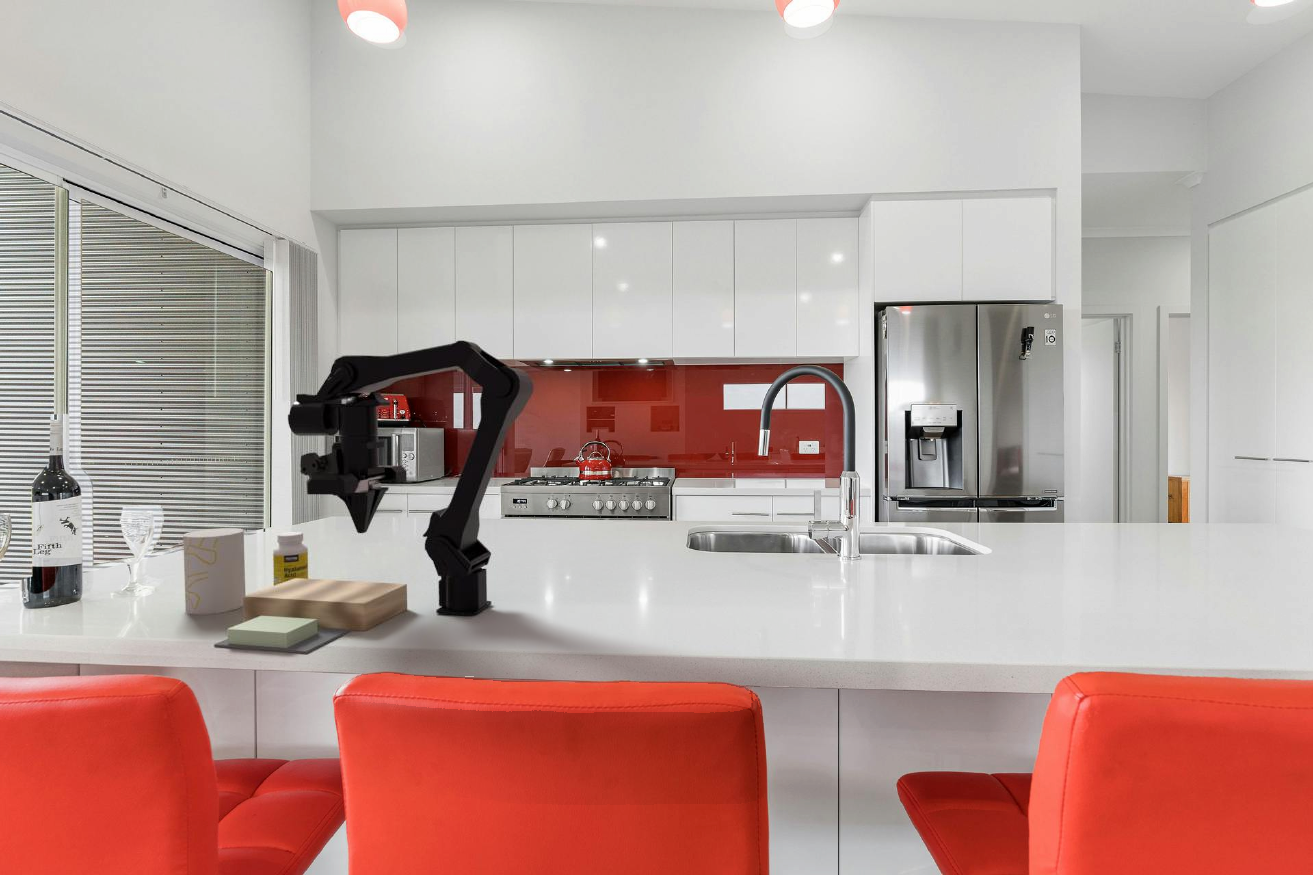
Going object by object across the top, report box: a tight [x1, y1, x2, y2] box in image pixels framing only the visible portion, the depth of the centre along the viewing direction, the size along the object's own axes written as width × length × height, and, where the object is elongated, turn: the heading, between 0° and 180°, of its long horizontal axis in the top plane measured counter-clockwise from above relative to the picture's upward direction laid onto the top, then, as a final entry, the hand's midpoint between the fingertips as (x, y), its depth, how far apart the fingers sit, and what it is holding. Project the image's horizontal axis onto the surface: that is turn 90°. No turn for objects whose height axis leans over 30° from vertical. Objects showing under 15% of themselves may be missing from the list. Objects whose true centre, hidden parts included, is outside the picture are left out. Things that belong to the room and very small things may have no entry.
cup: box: [182, 527, 246, 615], centre depth 111 cm, size 8×8×12 cm
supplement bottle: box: [272, 531, 309, 586], centre depth 122 cm, size 5×5×10 cm
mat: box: [213, 627, 351, 654], centre depth 96 cm, size 14×9×1 cm, turn 79°
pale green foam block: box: [226, 616, 318, 648], centre depth 95 cm, size 9×6×2 cm, turn 79°
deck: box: [242, 578, 408, 632], centre depth 106 cm, size 20×11×4 cm, turn 79°
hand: (361, 532), depth 111 cm, fingers closed
